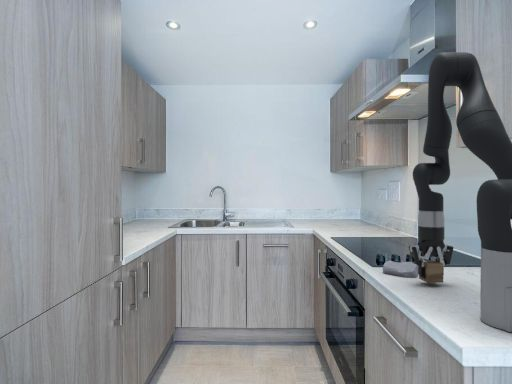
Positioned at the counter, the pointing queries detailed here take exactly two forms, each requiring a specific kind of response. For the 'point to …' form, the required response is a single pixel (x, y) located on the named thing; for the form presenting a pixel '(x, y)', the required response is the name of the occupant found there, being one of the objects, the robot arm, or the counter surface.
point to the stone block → (401, 269)
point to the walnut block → (433, 272)
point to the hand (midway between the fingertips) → (431, 277)
